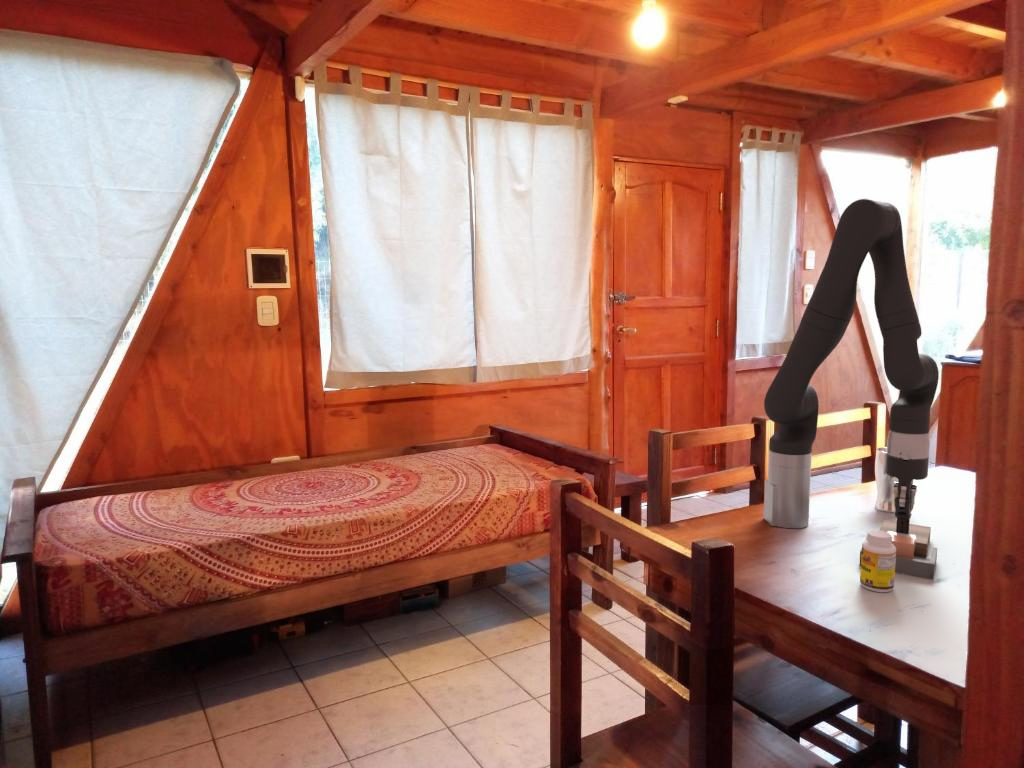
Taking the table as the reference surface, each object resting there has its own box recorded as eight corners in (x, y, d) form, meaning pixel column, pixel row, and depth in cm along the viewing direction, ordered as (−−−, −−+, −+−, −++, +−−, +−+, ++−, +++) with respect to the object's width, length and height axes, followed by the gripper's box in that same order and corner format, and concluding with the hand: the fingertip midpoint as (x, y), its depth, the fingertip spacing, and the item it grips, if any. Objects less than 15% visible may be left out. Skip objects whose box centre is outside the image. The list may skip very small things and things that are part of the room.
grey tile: (887, 541, 145) (887, 531, 144) (915, 546, 142) (915, 535, 141) (884, 554, 141) (884, 543, 140) (913, 559, 138) (913, 548, 137)
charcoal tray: (866, 550, 146) (866, 536, 146) (936, 562, 139) (937, 547, 139) (859, 565, 138) (860, 551, 138) (933, 579, 131) (934, 564, 131)
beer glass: (910, 513, 169) (913, 453, 167) (880, 513, 170) (883, 453, 168) (896, 505, 176) (899, 446, 174) (867, 505, 177) (870, 446, 175)
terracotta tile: (886, 533, 139) (884, 539, 137) (914, 537, 136) (913, 544, 134) (885, 554, 141) (883, 561, 139) (913, 559, 138) (912, 566, 136)
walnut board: (883, 532, 156) (883, 520, 156) (929, 540, 152) (930, 527, 151) (876, 549, 147) (877, 536, 146) (926, 558, 142) (927, 544, 141)
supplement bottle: (855, 580, 132) (858, 528, 130) (886, 581, 131) (889, 528, 130) (866, 593, 126) (869, 538, 125) (898, 594, 125) (902, 539, 124)
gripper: (889, 444, 149) (885, 523, 151) (882, 457, 138) (877, 541, 140) (930, 448, 145) (925, 529, 147) (926, 462, 134) (921, 549, 136)
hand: (902, 535), depth 144 cm, fingers closed
